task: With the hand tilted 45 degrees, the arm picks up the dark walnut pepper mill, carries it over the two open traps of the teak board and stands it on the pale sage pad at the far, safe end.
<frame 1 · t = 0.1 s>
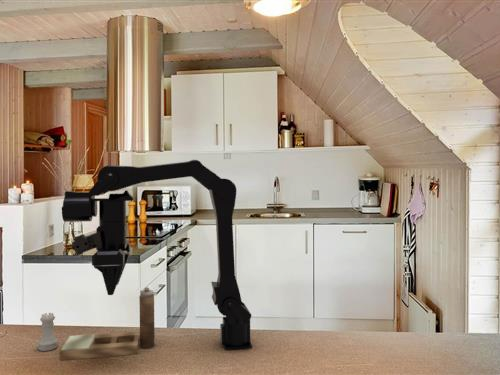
hand: (113, 289, 96), 15 cm above the countertop, tool pointing down, fingers open, 9 cm apart
pepper mill: (147, 345, 101), on the countertop
rook chess piece: (47, 348, 100), on the countertop
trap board: (102, 349, 99), on the countertop
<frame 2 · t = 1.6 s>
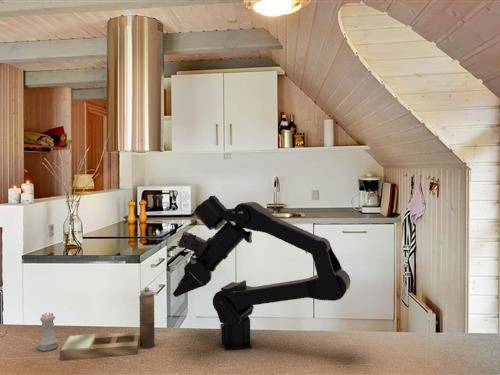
hand: (176, 290, 102), 13 cm above the countertop, tool tilted 45°, fingers open, 9 cm apart
nothing on the countertop moved.
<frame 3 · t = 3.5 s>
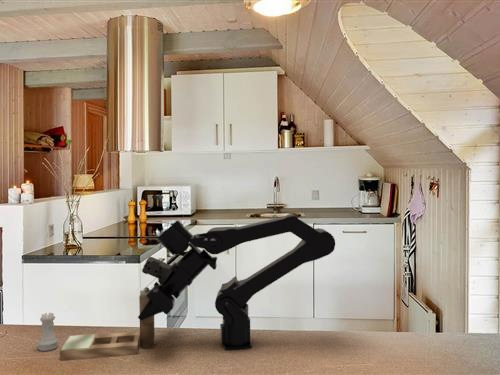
hand: (141, 316, 101), 7 cm above the countertop, tool tilted 45°, fingers closed on pepper mill, 3 cm apart
pepper mill: (147, 345, 101), on the countertop, touching gripper
everything else where it was.
when the fingers open (10 cm above the countertop, at t = 6.1 s): pepper mill drops 1 cm, resting on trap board.
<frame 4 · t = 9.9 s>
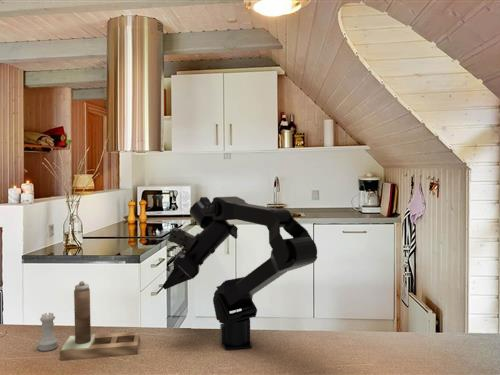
hand: (166, 283, 107), 14 cm above the countertop, tool tilted 45°, fingers open, 9 cm apart
pepper mill: (83, 341, 99), point 2 cm above the countertop, touching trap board
everything else where it was.
at the end: pepper mill 0.8 cm from the target spot, point 2.2 cm above the countertop; pepper mill tilted 0°; the gripper is holding nothing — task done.
